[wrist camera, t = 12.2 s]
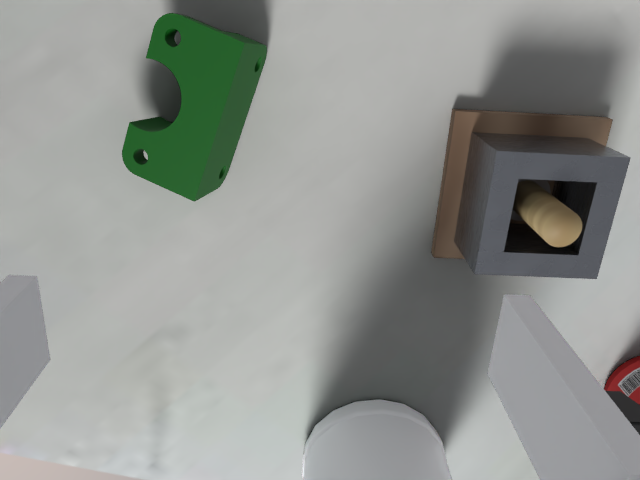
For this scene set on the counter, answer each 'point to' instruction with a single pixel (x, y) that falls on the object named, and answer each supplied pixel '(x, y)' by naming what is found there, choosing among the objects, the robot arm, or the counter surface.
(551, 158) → the ring
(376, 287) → the counter surface
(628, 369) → the canned food
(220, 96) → the clamp
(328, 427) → the bottle
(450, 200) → the post
